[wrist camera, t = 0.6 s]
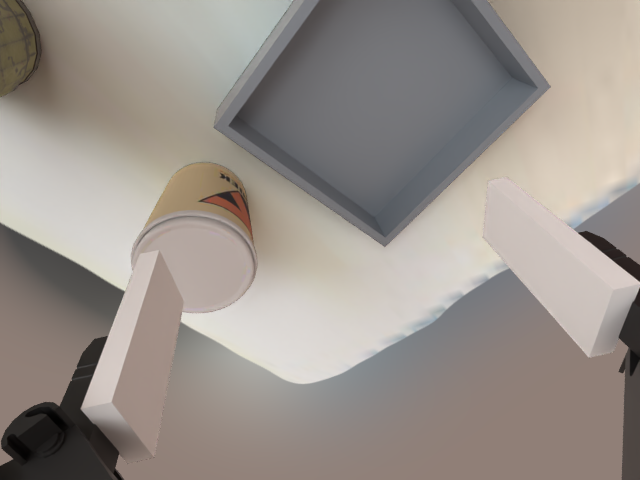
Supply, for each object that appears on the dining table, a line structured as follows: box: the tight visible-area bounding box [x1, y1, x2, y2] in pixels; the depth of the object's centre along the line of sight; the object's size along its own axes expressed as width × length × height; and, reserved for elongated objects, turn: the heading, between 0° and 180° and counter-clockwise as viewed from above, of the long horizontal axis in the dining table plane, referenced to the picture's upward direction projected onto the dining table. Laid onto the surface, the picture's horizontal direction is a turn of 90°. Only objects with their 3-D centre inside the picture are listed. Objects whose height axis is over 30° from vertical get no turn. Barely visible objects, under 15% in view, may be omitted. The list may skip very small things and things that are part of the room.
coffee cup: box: [131, 162, 257, 313], centre depth 35 cm, size 9×9×12 cm
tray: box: [214, 0, 551, 247], centre depth 35 cm, size 20×20×5 cm
